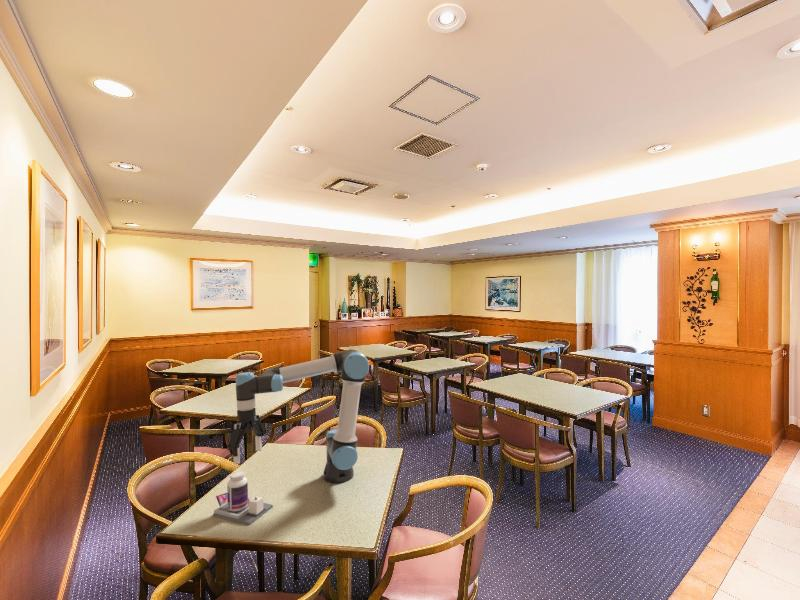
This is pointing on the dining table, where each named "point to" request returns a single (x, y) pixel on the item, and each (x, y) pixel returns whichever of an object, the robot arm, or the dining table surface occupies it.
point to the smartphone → (222, 499)
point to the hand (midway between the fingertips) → (248, 456)
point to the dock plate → (244, 511)
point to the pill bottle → (237, 492)
